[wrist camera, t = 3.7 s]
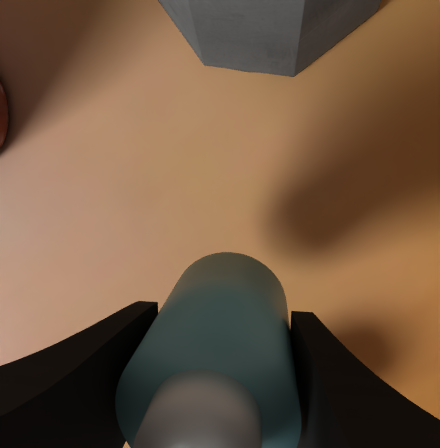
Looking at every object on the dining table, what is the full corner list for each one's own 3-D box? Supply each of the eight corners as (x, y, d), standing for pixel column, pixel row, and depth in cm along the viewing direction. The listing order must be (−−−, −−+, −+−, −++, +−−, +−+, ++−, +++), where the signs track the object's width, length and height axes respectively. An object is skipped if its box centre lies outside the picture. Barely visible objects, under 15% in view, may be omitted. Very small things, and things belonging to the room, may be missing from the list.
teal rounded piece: (283, 359, 12) (300, 556, 7) (175, 351, 13) (101, 526, 7) (289, 255, 11) (315, 377, 6) (172, 249, 12) (83, 357, 6)
